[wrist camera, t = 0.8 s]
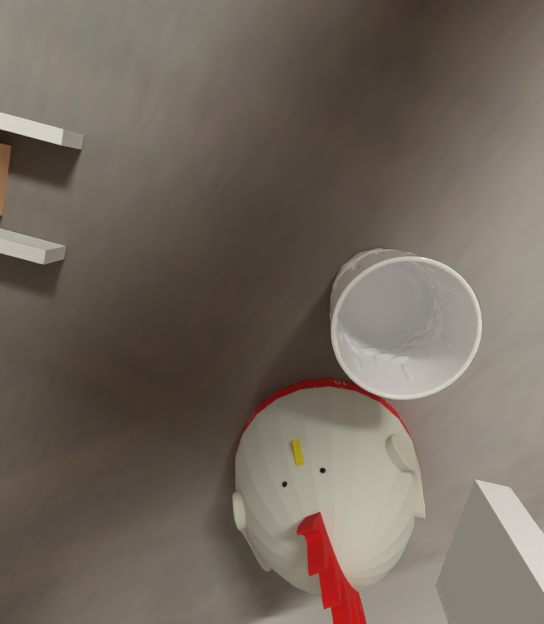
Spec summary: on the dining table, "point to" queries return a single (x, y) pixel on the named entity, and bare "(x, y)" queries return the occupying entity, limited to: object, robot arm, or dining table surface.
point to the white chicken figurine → (327, 490)
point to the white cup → (402, 323)
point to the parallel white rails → (25, 244)
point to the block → (3, 172)
